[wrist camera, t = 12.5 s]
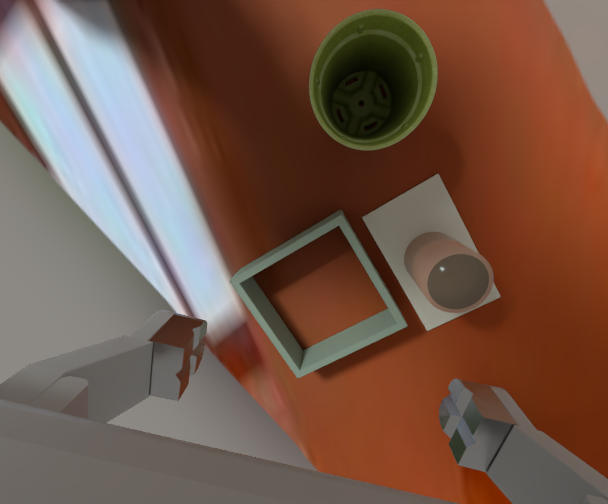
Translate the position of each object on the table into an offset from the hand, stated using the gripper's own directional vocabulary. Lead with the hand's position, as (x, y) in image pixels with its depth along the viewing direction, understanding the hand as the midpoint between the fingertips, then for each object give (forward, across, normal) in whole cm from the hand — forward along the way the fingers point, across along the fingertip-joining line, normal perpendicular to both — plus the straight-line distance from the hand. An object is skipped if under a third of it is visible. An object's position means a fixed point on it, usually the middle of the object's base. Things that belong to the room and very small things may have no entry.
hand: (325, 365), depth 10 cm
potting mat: (+25, -13, +2) cm, 28 cm away
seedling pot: (+25, -13, +2) cm, 28 cm away
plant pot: (+26, -1, -12) cm, 29 cm away
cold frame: (+25, -1, +9) cm, 27 cm away
